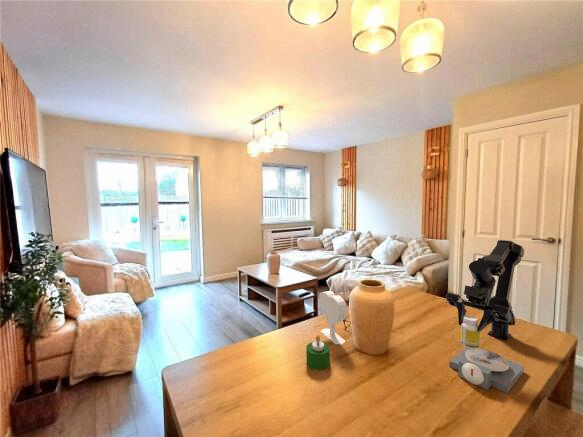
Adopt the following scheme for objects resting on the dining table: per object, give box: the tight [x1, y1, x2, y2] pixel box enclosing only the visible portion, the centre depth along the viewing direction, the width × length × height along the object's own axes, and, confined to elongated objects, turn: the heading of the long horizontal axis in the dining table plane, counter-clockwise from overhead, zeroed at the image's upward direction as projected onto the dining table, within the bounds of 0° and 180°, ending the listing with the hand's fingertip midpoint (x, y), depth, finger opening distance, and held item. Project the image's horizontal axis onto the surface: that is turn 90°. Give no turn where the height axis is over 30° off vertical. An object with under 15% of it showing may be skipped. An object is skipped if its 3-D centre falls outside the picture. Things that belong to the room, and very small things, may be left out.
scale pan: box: [465, 348, 509, 372], centre depth 90 cm, size 12×12×1 cm
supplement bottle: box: [460, 315, 481, 349], centre depth 92 cm, size 5×5×10 cm
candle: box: [305, 335, 331, 371], centre depth 95 cm, size 8×8×10 cm
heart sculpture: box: [319, 290, 348, 345], centre depth 113 cm, size 16×5×18 cm, turn 24°
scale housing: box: [449, 347, 525, 394], centre depth 89 cm, size 20×16×6 cm
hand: (468, 327), depth 91 cm, fingers closed on supplement bottle, 5 cm apart
